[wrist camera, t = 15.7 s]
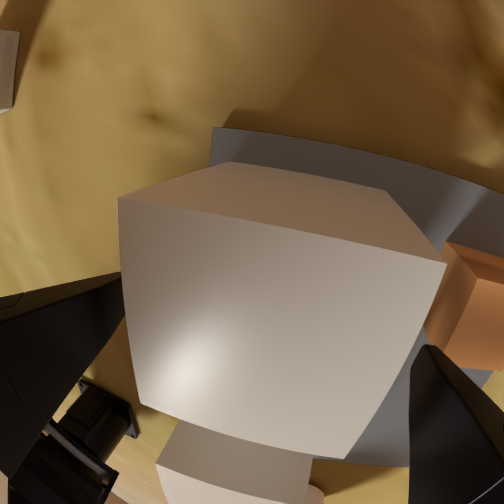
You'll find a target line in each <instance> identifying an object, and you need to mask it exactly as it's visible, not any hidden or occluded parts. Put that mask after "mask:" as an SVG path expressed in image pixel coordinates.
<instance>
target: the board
mask: <svg viewBox="0 0 504 504" xmlns="http://www.w3.org/2000/svg"><path fill="white" fill-rule="evenodd" d="M230 161H231V162H238V163H245V164H252V165H259V166H265V167H271V168H277V169H283V170H289V171H295V172H300V173H306V174H311V175H316V176H321V177H326V178H331V179H336V180H341V181H346V182H350V183H355V184H359V185H364V186H368V187H372V188H377V189H381V190H385V191H386V192H387V193H388V194H389V195H390V196H391V197H392V198H393V199H394V201H395V202H396V203H397V204H398V205H399V206H400V207H401V208H402V209H403V211H404V212H405V213H406V214H407V215H408V216H409V217H410V219H411V220H412V221H413V222H414V223H415V224H416V226H417V227H418V228H419V229H420V230H421V231H422V233H423V234H424V235H425V236H426V237H427V239H428V240H429V241H430V242H431V244H432V245H433V246H434V247H435V249H436V250H437V251H438V252H439V254H440V255H441V252H442V249H443V246H444V243H445V241H448V242H451V243H455V244H458V245H462V246H466V247H469V248H472V249H476V250H479V251H483V252H486V253H489V254H493V255H496V256H499V257H503V258H504V194H502V193H499V192H497V191H494V190H492V189H489V188H486V187H484V186H481V185H478V184H476V183H473V182H470V181H467V180H464V179H462V178H459V177H456V176H453V175H450V174H447V173H444V172H440V171H437V170H434V169H431V168H428V167H424V166H421V165H417V164H414V163H410V162H407V161H403V160H400V159H396V158H392V157H388V156H384V155H380V154H376V153H372V152H368V151H364V150H359V149H355V148H350V147H346V146H341V145H336V144H331V143H326V142H321V141H315V140H310V139H304V138H298V137H292V136H286V135H279V134H273V133H265V132H258V131H250V130H241V129H232V128H222V127H214V128H213V137H212V146H211V156H210V166H209V167H212V166H216V165H219V164H223V163H226V162H230ZM424 344H429V341H428V338H427V336H426V333H425V330H424V327H423V326H422V328H421V330H420V332H419V334H418V336H417V338H416V340H415V343H414V345H413V347H412V349H411V351H410V353H409V355H408V357H407V359H406V360H405V362H404V364H403V366H402V368H401V370H400V372H399V374H398V375H397V377H396V379H395V381H394V383H393V384H392V386H391V388H390V390H389V391H388V393H387V395H386V396H385V398H384V400H383V401H382V403H381V405H380V406H379V408H378V410H377V411H376V413H375V414H374V416H373V417H372V419H371V421H370V422H369V424H368V425H367V427H366V428H365V430H364V431H363V433H362V434H361V436H360V437H359V438H358V440H357V441H356V443H355V444H354V446H353V447H352V448H351V450H350V451H349V453H348V454H347V455H346V457H345V458H344V459H339V458H332V457H325V456H318V455H313V458H316V459H323V460H329V461H337V462H344V463H353V464H363V465H375V466H392V467H410V450H409V416H408V414H409V389H410V369H411V365H412V363H413V361H414V360H415V358H416V356H417V354H418V352H419V350H420V348H421V347H422V345H424ZM459 368H460V369H461V370H462V371H463V372H464V373H465V374H466V375H467V376H468V377H469V378H470V379H471V380H472V381H473V382H474V383H475V384H476V385H477V386H478V387H479V388H480V389H481V388H482V387H483V385H484V384H485V383H486V381H487V380H488V378H489V377H490V375H491V374H492V372H493V371H492V370H480V369H470V368H461V367H459Z"/></svg>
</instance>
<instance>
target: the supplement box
mask: <svg viewBox="0 0 504 504" xmlns="http://www.w3.org/2000/svg"><path fill="white" fill-rule="evenodd" d="M19 37H20V32H19V31H9V30H0V114H1V113H3V112H6V111H8V110H10V109H12V102H13V87H14V77H15V67H16V58H17V51H18V44H19Z"/></svg>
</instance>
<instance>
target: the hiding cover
mask: <svg viewBox="0 0 504 504" xmlns="http://www.w3.org/2000/svg"><path fill="white" fill-rule="evenodd" d="M118 223H119V247H120V263H121V276H122V287H123V297H124V307H125V315H126V323H127V330H128V337H129V344H130V351H131V357H132V363H133V368H134V374H135V379H136V384H137V389H138V394H139V399H140V403H141V404H143V405H146V406H148V407H151V408H153V409H155V410H158V411H160V412H163V413H165V414H168V415H171V416H173V417H176V418H178V419H181V420H184V421H187V422H189V423H192V424H195V425H198V426H201V427H204V428H207V429H210V430H213V431H217V432H220V433H223V434H226V435H230V436H233V437H237V438H240V439H244V440H248V441H252V442H256V443H260V444H264V445H268V446H272V447H277V448H281V449H286V450H291V451H296V452H301V453H307V454H312V455H318V456H325V457H332V458H339V459H344V458H345V457H346V455H347V454H348V453H349V451H350V450H351V448H352V447H353V446H354V444H355V443H356V441H357V440H358V438H359V437H360V436H361V434H362V433H363V431H364V430H365V428H366V427H367V425H368V424H369V422H370V421H371V419H372V417H373V416H374V414H375V413H376V411H377V410H378V408H379V406H380V405H381V403H382V401H383V400H384V398H385V396H386V395H387V393H388V391H389V390H390V388H391V386H392V384H393V383H394V381H395V379H396V377H397V375H398V374H399V372H400V370H401V368H402V366H403V364H404V362H405V360H406V359H407V357H408V355H409V353H410V351H411V349H412V347H413V345H414V343H415V340H416V338H417V336H418V334H419V332H420V330H421V328H422V326H423V323H424V321H425V319H426V317H427V314H428V312H429V310H430V307H431V305H432V302H433V300H434V298H435V295H436V293H437V290H438V288H439V285H440V282H441V280H442V277H443V274H444V272H445V269H446V266H447V263H446V261H445V260H444V259H443V258H442V256H441V255H440V254H439V252H438V251H437V250H436V249H435V247H434V246H433V245H432V244H431V242H430V241H429V240H428V239H427V237H426V236H425V235H424V234H423V233H422V231H421V230H420V229H419V228H418V227H417V226H416V224H415V223H414V222H413V221H412V220H411V219H410V217H409V216H408V215H407V214H406V213H405V212H404V211H403V209H402V208H401V207H400V206H399V205H398V204H397V203H396V202H395V201H394V199H393V198H392V197H391V196H390V195H389V194H388V193H387V192H386V191H385V190H381V189H377V188H372V187H368V186H364V185H359V184H355V183H350V182H346V181H341V180H336V179H331V178H326V177H321V176H316V175H311V174H306V173H300V172H295V171H289V170H283V169H277V168H271V167H265V166H259V165H252V164H245V163H238V162H231V161H230V162H226V163H223V164H219V165H216V166H212V167H209V168H205V169H202V170H199V171H195V172H192V173H189V174H185V175H182V176H179V177H176V178H173V179H170V180H167V181H164V182H161V183H158V184H155V185H152V186H149V187H146V188H143V189H140V190H137V191H135V192H132V193H129V194H126V195H123V196H121V197H118Z"/></svg>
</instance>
